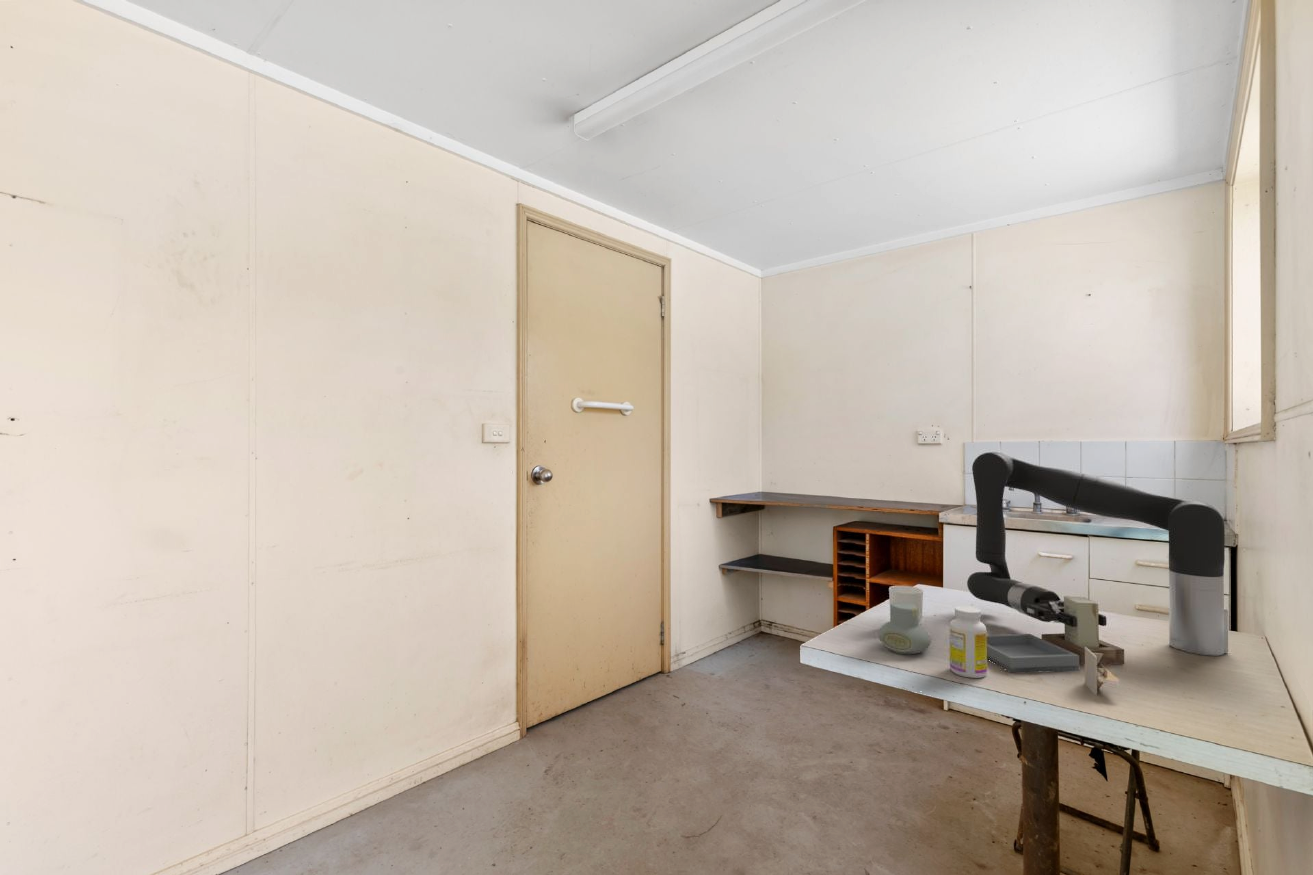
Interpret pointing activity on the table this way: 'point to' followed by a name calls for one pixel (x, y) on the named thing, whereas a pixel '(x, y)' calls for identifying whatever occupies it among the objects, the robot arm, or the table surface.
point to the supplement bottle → (968, 643)
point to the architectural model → (1091, 671)
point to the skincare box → (1082, 622)
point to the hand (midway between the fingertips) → (1089, 621)
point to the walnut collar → (1108, 650)
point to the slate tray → (1029, 654)
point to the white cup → (907, 597)
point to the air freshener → (904, 630)
